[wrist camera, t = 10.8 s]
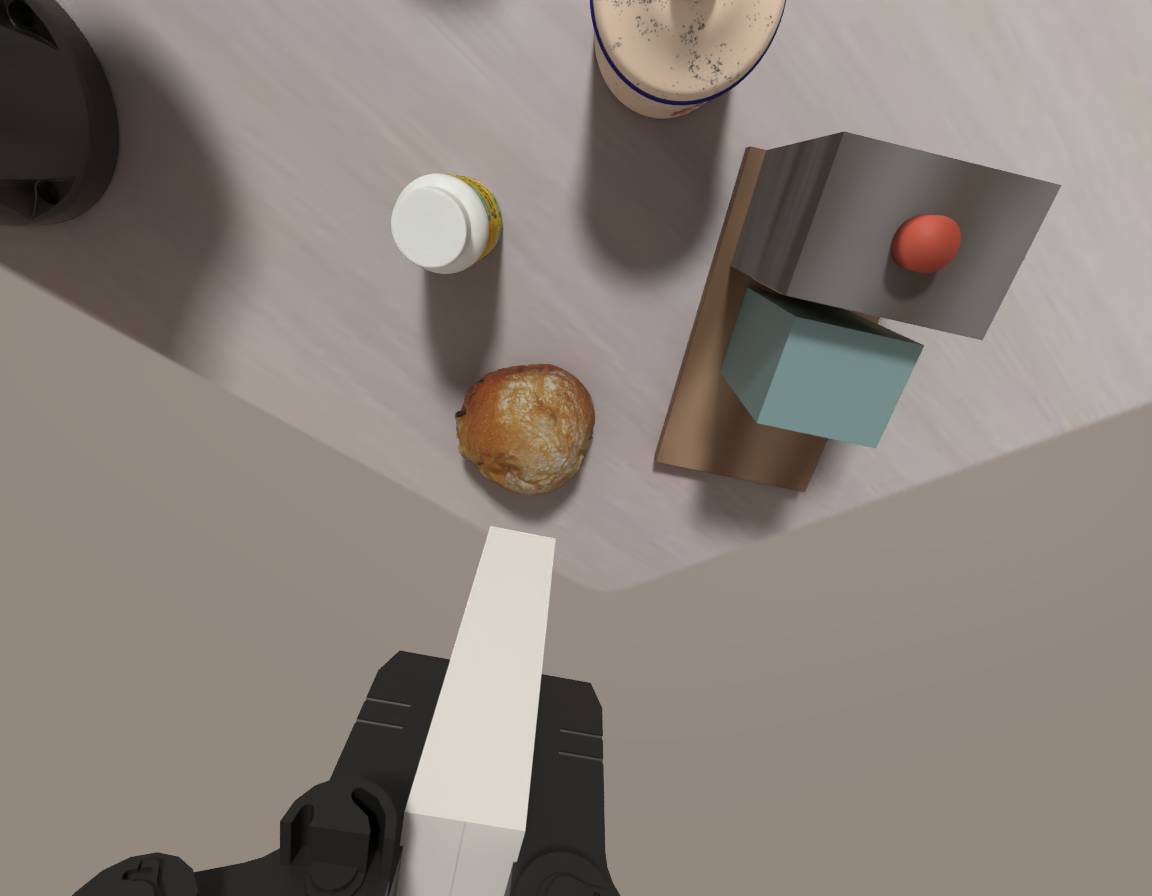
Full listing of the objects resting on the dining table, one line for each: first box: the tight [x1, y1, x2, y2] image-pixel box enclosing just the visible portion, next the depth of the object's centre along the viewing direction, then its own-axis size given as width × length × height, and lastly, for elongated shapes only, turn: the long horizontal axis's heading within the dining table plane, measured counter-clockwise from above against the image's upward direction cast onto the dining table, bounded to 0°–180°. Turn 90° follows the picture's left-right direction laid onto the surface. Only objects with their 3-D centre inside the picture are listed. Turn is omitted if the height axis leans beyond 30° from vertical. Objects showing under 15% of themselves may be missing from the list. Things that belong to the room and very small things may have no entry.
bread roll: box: [455, 364, 595, 496], centre depth 43 cm, size 10×10×8 cm
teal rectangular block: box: [720, 287, 924, 448], centre depth 35 cm, size 7×6×10 cm
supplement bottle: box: [391, 174, 502, 274], centre depth 34 cm, size 5×5×10 cm
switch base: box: [655, 132, 1061, 492], centre depth 35 cm, size 12×22×14 cm, turn 168°
